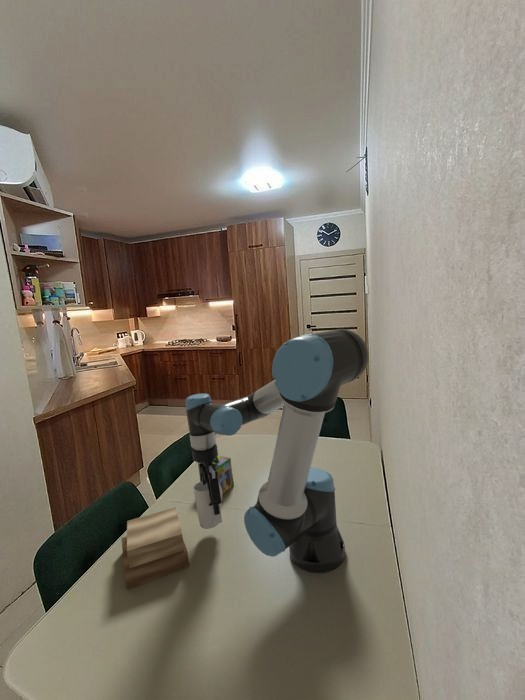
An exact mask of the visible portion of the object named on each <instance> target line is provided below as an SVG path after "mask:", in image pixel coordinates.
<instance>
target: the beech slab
mask: <svg viewBox="0 0 525 700" xmlns="http://www.w3.org/2000/svg"><path fill="white" fill-rule="evenodd" d="M126 522H127V523H126V536H127V555H128V561H129V568H132V567H135V566H138V565H141V564H144V563H147V562H150V561H153V560H157V559H160V558H163V557H166V556H169V555H172V554H175V553H178V552H181V551H184V545H183V540H184V538H183V532H182V528H181V523H180V520H179V515H178V511H177V507H176V506H175V507H173V508H172V507H171V508H169V509H165V510H161V511H157V512H154V513H151V514H148V515H147V514H146V515H143V516H140V517H135V518H133V519H130V520H127V521H126Z"/></svg>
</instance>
